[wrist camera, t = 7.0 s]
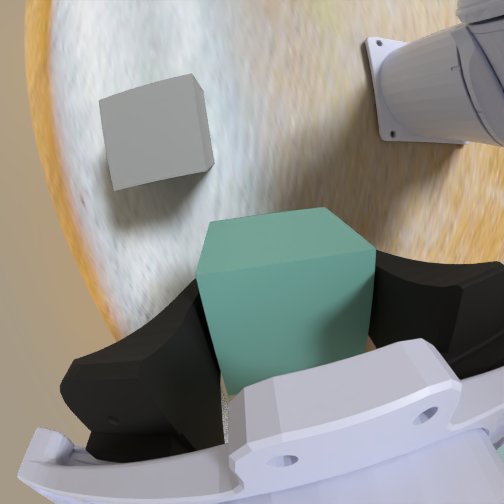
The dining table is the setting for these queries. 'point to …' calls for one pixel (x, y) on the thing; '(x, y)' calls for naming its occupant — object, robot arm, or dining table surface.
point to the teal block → (284, 293)
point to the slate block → (156, 132)
